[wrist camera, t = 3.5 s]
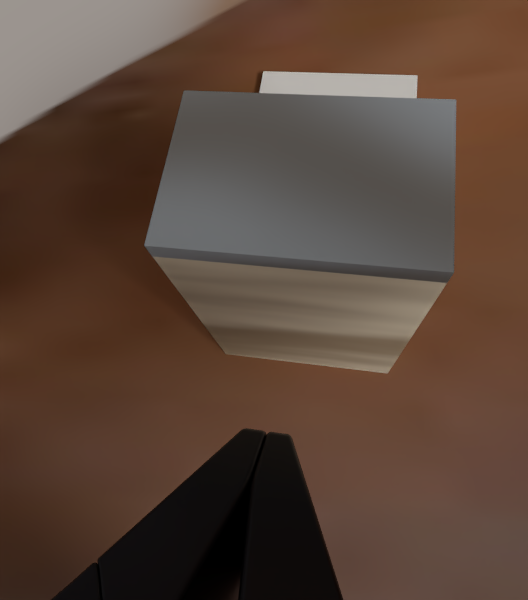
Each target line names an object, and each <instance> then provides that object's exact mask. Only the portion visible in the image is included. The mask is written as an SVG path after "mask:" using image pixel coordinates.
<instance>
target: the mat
mask: <svg viewBox="0 0 528 600" xmlns="http://www.w3.org/2000/svg"><path fill="white" fill-rule="evenodd" d="M417 77H418V75H381V74H344V73H306V72H269V71H263V76H262V81H261V86H260V91H259V93H273V94H302V95H332V96H362V97H391V98H416V97H417Z"/></svg>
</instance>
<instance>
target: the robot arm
mask: <svg viewBox="0 0 528 600" xmlns="http://www.w3.org/2000/svg"><path fill="white" fill-rule="evenodd" d="M51 600H343V597H342V594H341V591H340V588H339V585H338V581H337V578H336V575H335V572H334V569H333V566H332V563H331V559H330V556H329V553H328V550H327V547H326V544H325V541H324V537H323V534H322V531H321V528H320V525H319V522H318V519H317V515H316V512H315V509H314V506H313V503H312V500H311V497H310V493H309V490H308V487H307V484H306V481H305V478H304V475H303V471H302V468H301V465H300V462H299V459H298V456H297V453H296V449H295V446H294V443H293V440H292V438H291V436H290V435H288V434H282V433H275V432H269V433H268V434H267V435H266V432H264V431H261V430H254V429H247V428H246V429H242V430H241V431H240V432H239V433H238V434H236V435H235V436H234V437H233V438H232V439H231V440H230V441H229V442H228V443H226V444H225V445H224V446H223V447H222V448H221V449H220V450H219V451H218V452H216V453H215V454H214V455H213V456H212V457H211V458H210V459H209V460H207V461H206V462H205V463H204V464H203V465H202V466H201V467H200V468H199V469H197V470H196V471H195V472H194V473H193V474H192V475H191V476H190V477H189V478H187V479H186V480H185V481H184V482H183V483H182V484H181V485H180V486H179V487H177V488H176V489H175V490H174V491H173V492H172V493H171V494H170V495H168V496H167V497H166V498H165V499H164V500H163V501H162V502H161V503H160V504H158V505H157V506H156V507H155V508H154V509H153V510H152V511H151V512H150V513H148V514H147V515H146V516H145V517H144V518H143V519H142V520H141V521H140V522H138V523H137V524H136V525H135V526H134V527H133V528H132V529H131V530H129V531H128V532H127V533H126V534H125V535H124V536H123V537H122V538H121V539H119V540H118V541H117V542H116V543H115V544H114V545H113V546H112V547H111V548H109V549H108V550H107V551H106V552H105V553H104V554H103V555H102V556H101V557H99V558H98V564H97V563H92V564H91V565H90V566H89V567H88V568H87V569H86V570H85V571H83V572H82V573H81V574H80V575H79V576H78V577H77V578H76V579H75V580H73V581H72V582H71V583H70V584H69V585H68V586H66V587H65V588H64V589H63V590H62V591H61V592H59V593H58V594H57V595H56V596H55V597H54V598H52V599H51Z"/></svg>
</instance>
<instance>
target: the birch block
mask: <svg viewBox="0 0 528 600" xmlns="http://www.w3.org/2000/svg"><path fill="white" fill-rule="evenodd" d="M455 150H456V100H451V99H421V98H391V97H362V96H332V95H302V94H273V93H243V92H213V91H184V92H183V96H182V100H181V104H180V108H179V112H178V116H177V120H176V124H175V127H174V131H173V135H172V139H171V143H170V147H169V151H168V155H167V159H166V162H165V166H164V170H163V174H162V178H161V182H160V186H159V190H158V194H157V198H156V201H155V205H154V209H153V213H152V217H151V221H150V225H149V229H148V233H147V236H146V240H145V244H144V246H145V247H146V249H147V250H148V251H149V253H150V254H151V255H152V257H153V258H154V259H155V261H156V262H157V263H158V265H159V266H160V267H161V269H162V270H163V271H164V273H165V274H166V275H167V277H168V278H169V279H170V281H171V282H172V283H173V285H174V286H175V287H176V289H177V290H178V291H179V293H180V294H181V295H182V297H183V298H184V299H185V301H186V302H187V303H188V305H189V306H190V307H191V309H192V310H193V311H194V313H195V314H196V315H197V316H198V318H199V319H200V320H201V322H202V323H203V324H204V326H205V327H206V328H207V330H208V331H209V332H210V334H211V335H212V336H213V338H214V339H215V340H216V342H217V343H218V344H219V346H220V347H221V348H222V350H223V351H224V352H225V354H231V355H239V356H247V357H256V358H264V359H272V360H281V361H289V362H297V363H306V364H314V365H322V366H331V367H339V368H347V369H355V370H364V371H372V372H380V373H388V372H389V370H390V369H391V367H392V366H393V364H394V363H395V361H396V360H397V358H398V357H399V355H400V354H401V352H402V351H403V349H404V348H405V346H406V345H407V343H408V342H409V340H410V339H411V337H412V335H413V334H414V332H415V331H416V329H417V328H418V326H419V325H420V323H421V322H422V320H423V319H424V317H425V316H426V314H427V313H428V311H429V310H430V308H431V307H432V305H433V304H434V302H435V300H436V299H437V297H438V296H439V294H440V293H441V291H442V290H443V288H444V287H445V285H446V284H447V282H448V281H449V279H450V278H451V276H452V275H453V273H454V227H455Z"/></svg>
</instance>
